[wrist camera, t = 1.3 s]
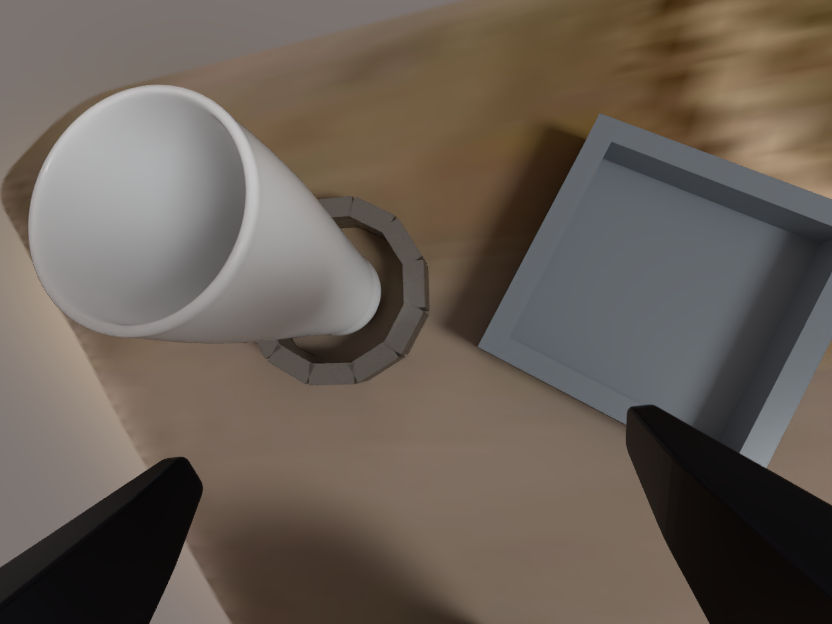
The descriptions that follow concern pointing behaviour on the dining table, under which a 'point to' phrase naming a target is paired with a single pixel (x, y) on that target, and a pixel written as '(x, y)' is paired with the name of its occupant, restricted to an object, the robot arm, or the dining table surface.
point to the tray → (674, 289)
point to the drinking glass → (188, 230)
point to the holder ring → (405, 325)
